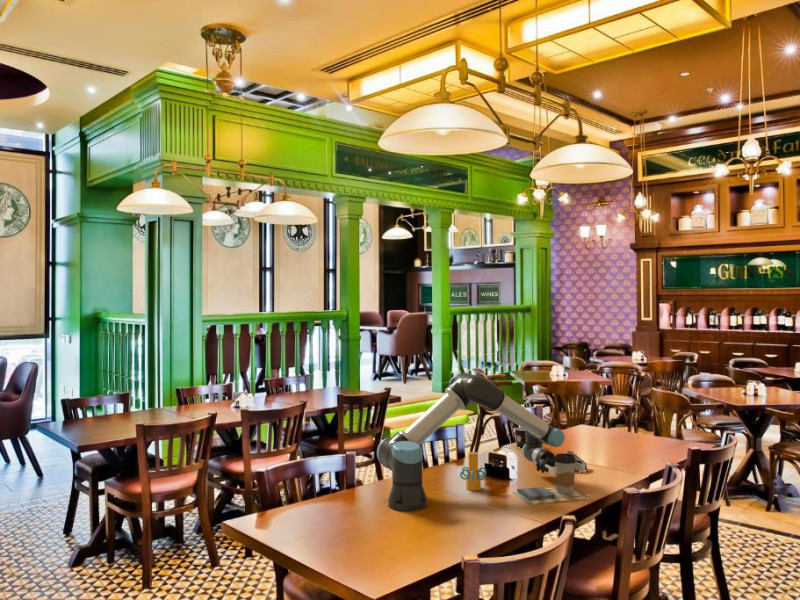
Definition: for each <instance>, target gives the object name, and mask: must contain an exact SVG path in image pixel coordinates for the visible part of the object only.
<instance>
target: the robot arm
mask: <svg viewBox="0 0 800 600" xmlns="http://www.w3.org/2000/svg"><path fill="white" fill-rule="evenodd" d="M470 404H475V405H478V406H482V407H484V408H486V409H487V410H490V411H492V412H495V411H496V412H498V413H499V414H500V415H501V416H503V417H504V418H506V419H508V420H509V421H511V422H512V423H514V424H516V425H517V426H518V427H519V428H523V429H525V437H526V442H525V445H524V446H523V448H522V449H521V454H522V456H523V457H524V458H525V459H526V460H528V461H529V462H532V463H534V466H535V467H536V471H537V472H541V474H545V472H546V473H547V474H549V475H551V476H555V461H554V460H555V457H556V454H555V453H554V452H552V451H550V450H548V449H546V448H544V447H543V445H544V444H545V445H548V446H550V447H555V448H558V447H561V446H562V445H563V443H564V442H565V438H566V437H565V433H564V431H562V430H561V429H559V428H557V427H556V428H555V427H554V426H552V425H551V424H549V423H547V422H546V421H545V420H543V419H542V418H540V417H539V416H537V415H536V414H534V413H533V412H531V411H530V410H528V409H527V408H526V407H524V406H522V404H521V405H520V404H519V403H518V402H517V401H515V400H513V399H512V398H511V397H509V396H508V395H506V392H505V391H504V390H503V389H502V388H500V387H499V386H497V385H496V384H495V383H493V382H492V381H490V380H489V379H487V377H483V376H482V375H476V374H472V373H469V372H459V373H457V374H455V375H453V376H452V377H451V378H450V380H449V382H448V386H447V387H446V388H445V389H444V394H443V396H442V397H440V398H439V399H438V400H437V401H436V402H434V403H433V405H431V406H430V407H429V408H428V409H427V410H426V411H425V412H423V414H422V415H421V416H420V417H418V418H417V419H416V420H415V421H414V422H413V423H411V424H410V425H409V426H408V427H406V429H405V430H404V431H400V430H398V431H397V432H396V433H395V434H394V435H393V436H392V437H386V438H384V439H382V440H381V441H380V442H379V444H378V445H377V448H376V457H377V459H378V462H379V463H380V464H381V466H383V467H384V468H386V469H388V470H390V471H391V472H392V473H391V474H392V479H391V480H392V485H391V490H390V492H389V495H388V499H387V502H388V503H387V505H388V507H389V508H390V509H392V510H395V511H403V512H407V511H408V512H412V511H419V510H422V509H425V508H427V507H428V498H427V494H426V491H425V489H424V485H423V457H424V455H423V449H422V446H421V445H422V444H423V443H424V442H426V440H427V439H429V438H430V437H431V436H432V435H433V434H434V433H435V432H436V431H437V430H438V429H440V427H442V425H444V424H445V423H446V422H447V421H448V420H449V419H451V417H452V416H453V415H454V414H455V413H457V412H458V411H459V410H460V411H461V410H465V409H466V408H467V407H469V406H470ZM575 461H576V462H575V469H576V470H578V471H581V472H583V474H585V473H586V472H585V466H584V465H582V461H579V460H575Z"/></svg>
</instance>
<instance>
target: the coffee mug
mask: <svg viewBox="0 0 800 600" xmlns="http://www.w3.org/2000/svg"><path fill="white" fill-rule="evenodd" d="M514 433H515V441H516V443H515V444H516V448H517V447H520V448H523V446H524V445H525V442H526V437H525V429H523V428H522V427H515V428H514Z"/></svg>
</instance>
